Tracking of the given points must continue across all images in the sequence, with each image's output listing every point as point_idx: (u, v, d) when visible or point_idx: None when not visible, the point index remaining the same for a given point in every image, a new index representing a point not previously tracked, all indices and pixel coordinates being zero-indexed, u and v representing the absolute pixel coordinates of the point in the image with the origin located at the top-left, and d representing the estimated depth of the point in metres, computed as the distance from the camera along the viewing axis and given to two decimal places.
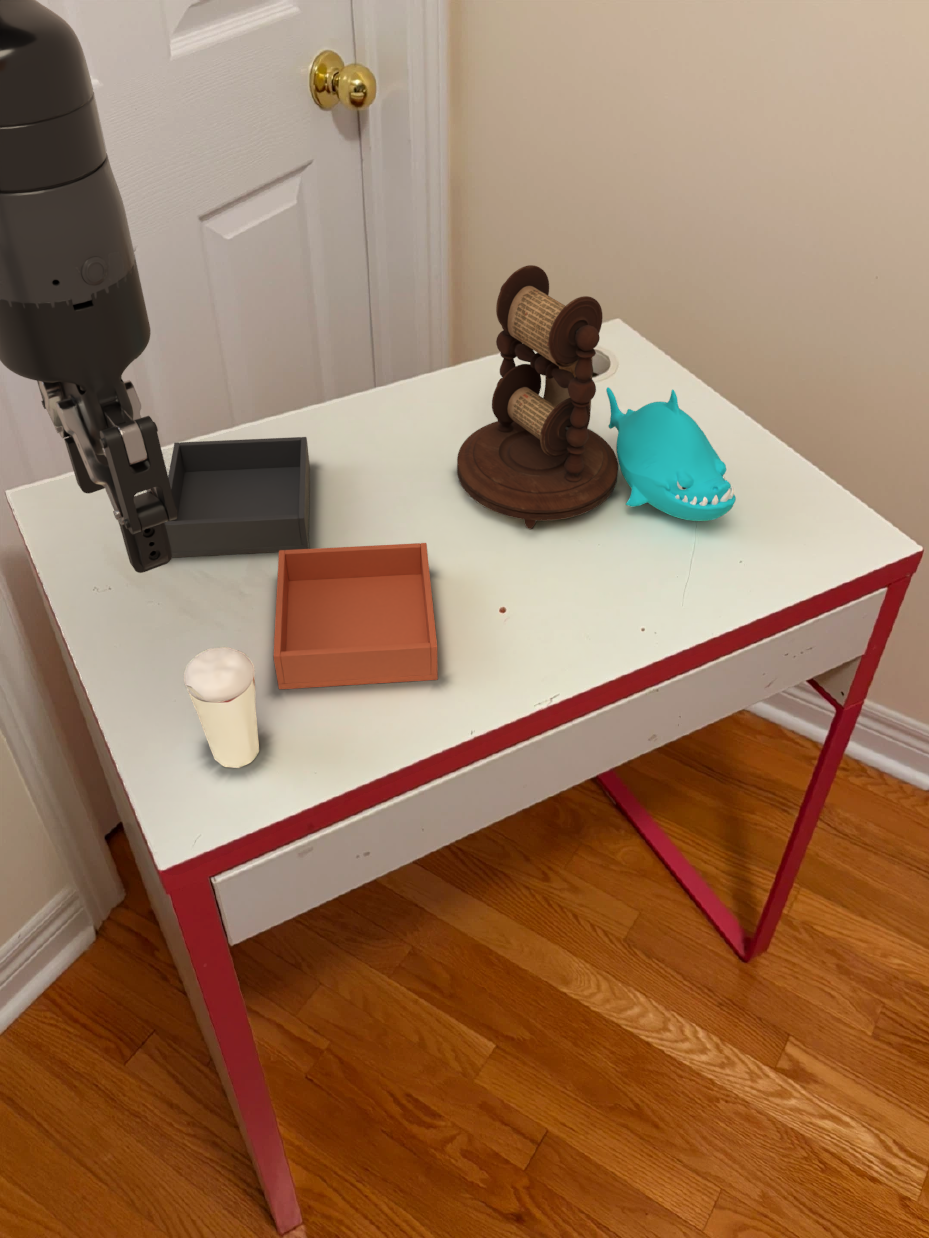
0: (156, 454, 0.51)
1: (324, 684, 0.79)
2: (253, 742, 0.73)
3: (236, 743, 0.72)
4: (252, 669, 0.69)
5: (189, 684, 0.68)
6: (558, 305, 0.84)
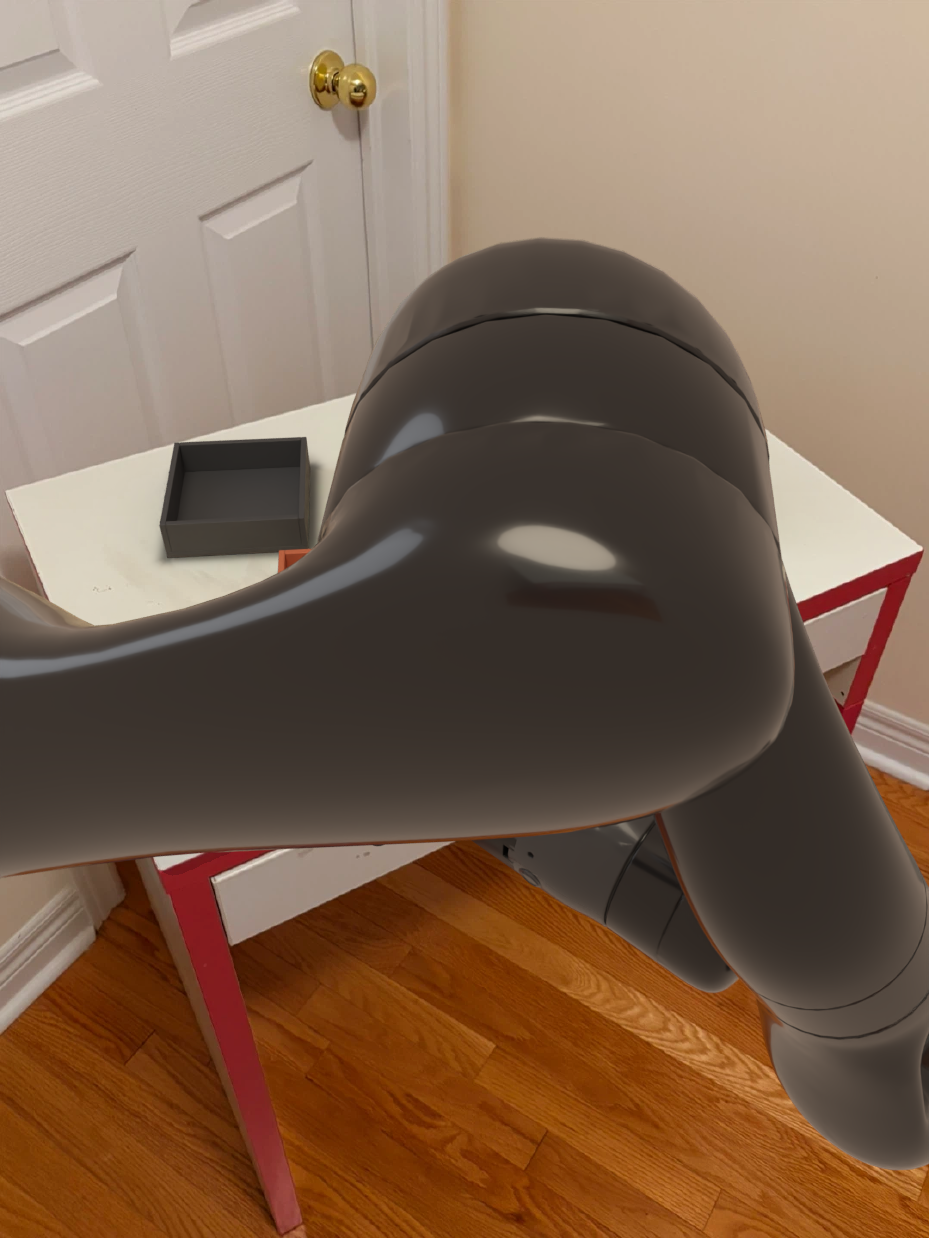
0: None
1: None
2: None
3: None
4: None
5: None
6: None
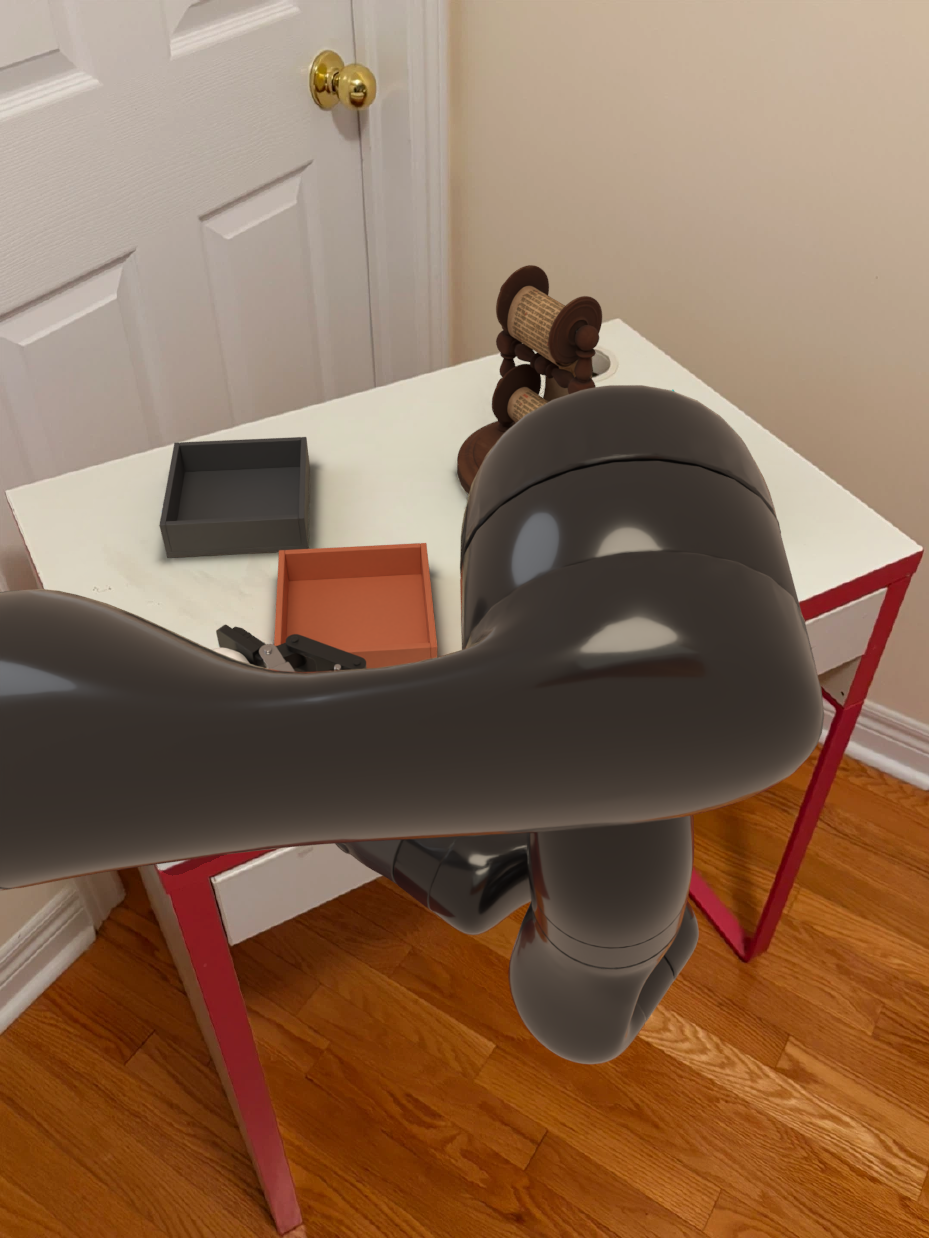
0: None
1: None
2: None
3: None
4: None
5: None
6: (558, 305, 0.84)
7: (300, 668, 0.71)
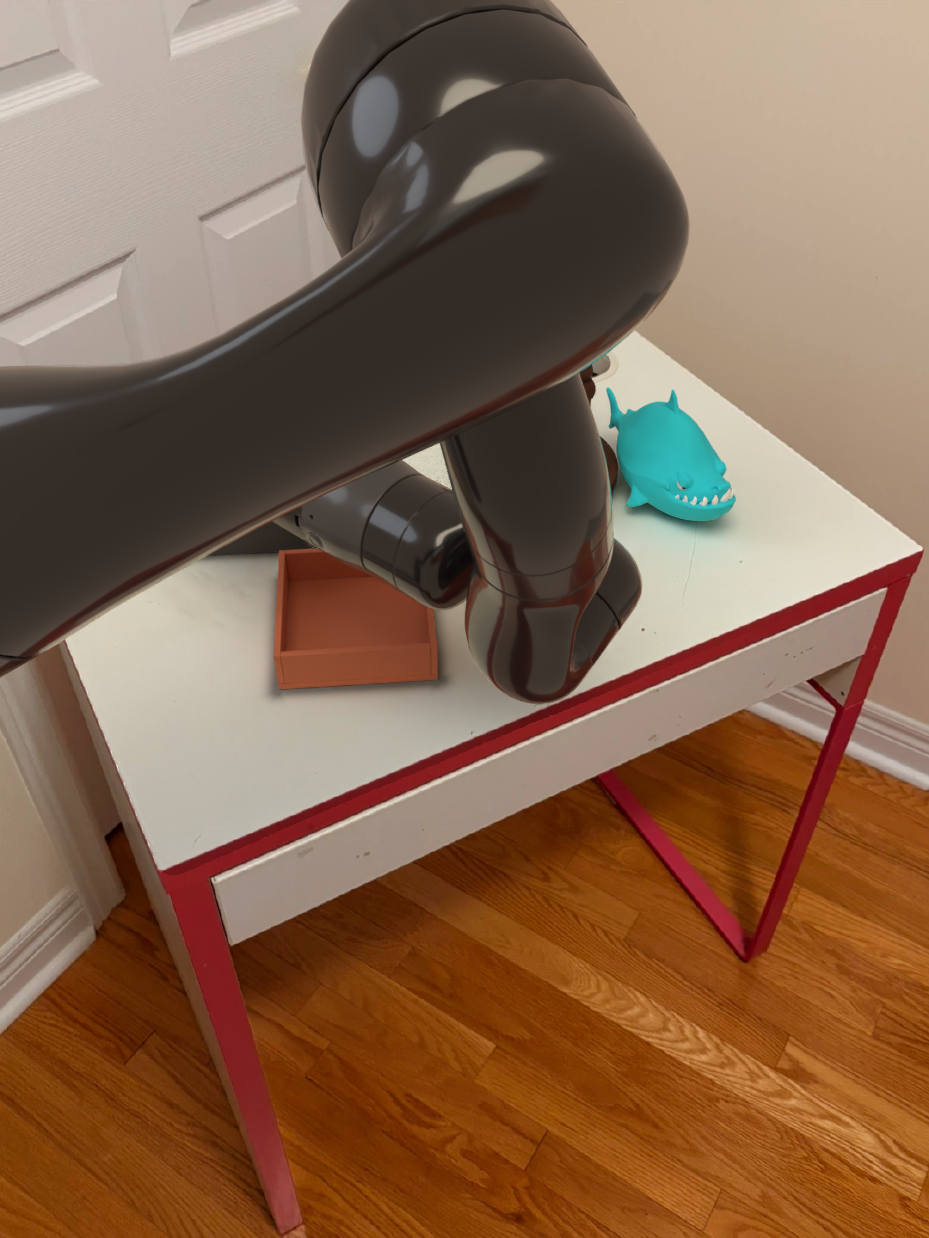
0: None
1: (324, 684, 0.79)
2: None
3: None
4: None
5: None
6: None
7: None
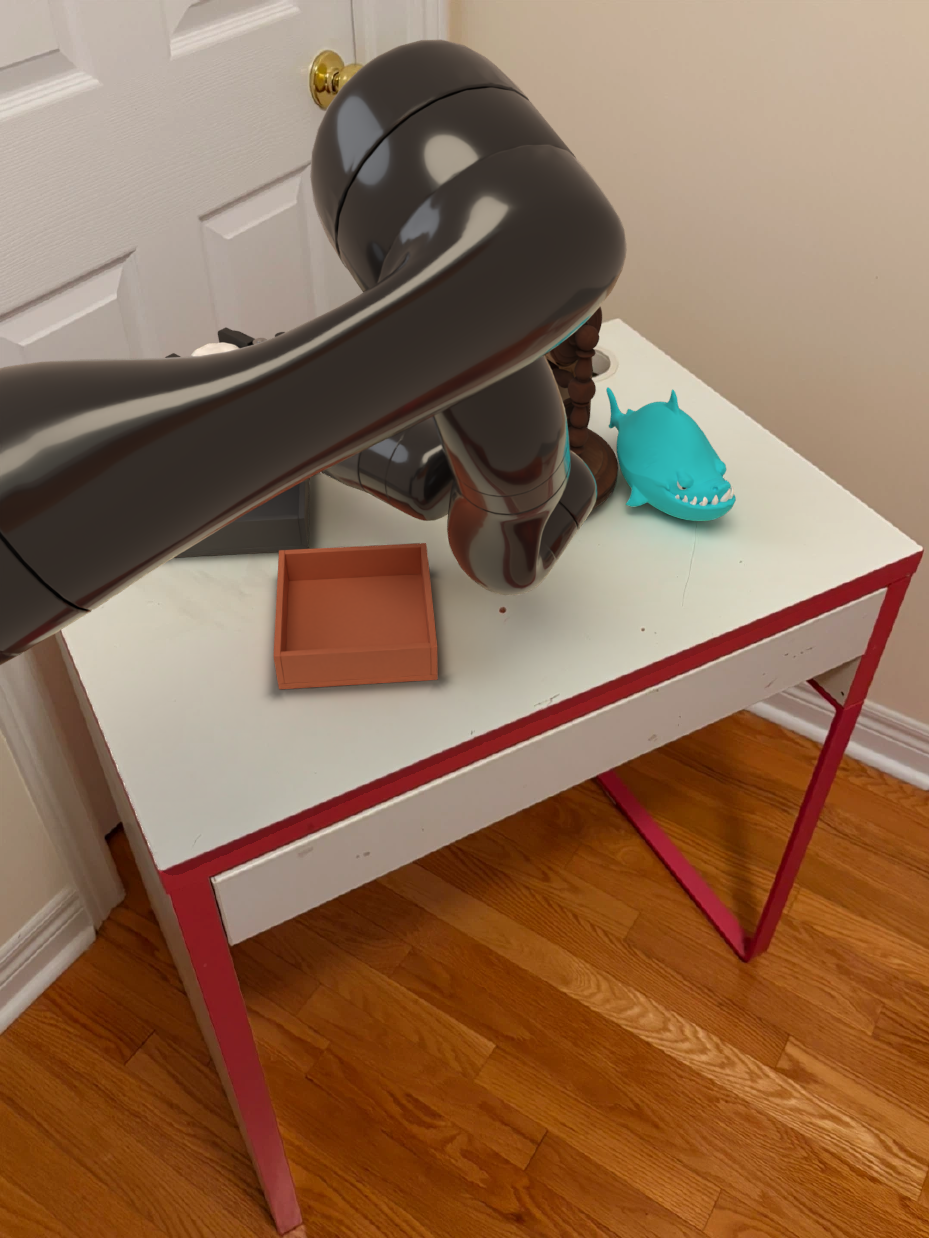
0: None
1: (324, 684, 0.79)
2: None
3: None
4: None
5: None
6: None
7: None
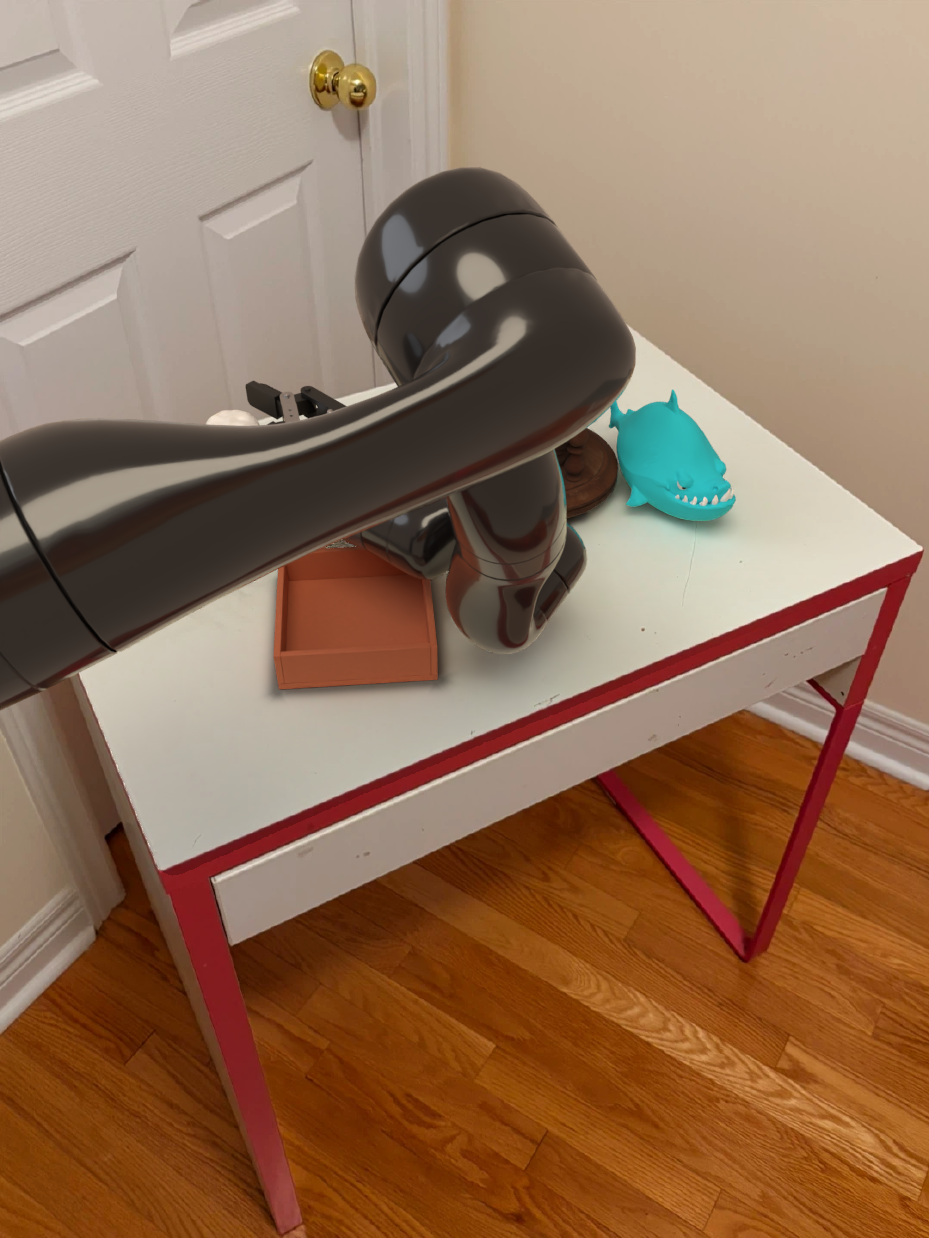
0: None
1: (324, 684, 0.79)
2: None
3: None
4: (258, 424, 0.89)
5: None
6: None
7: (309, 414, 0.90)
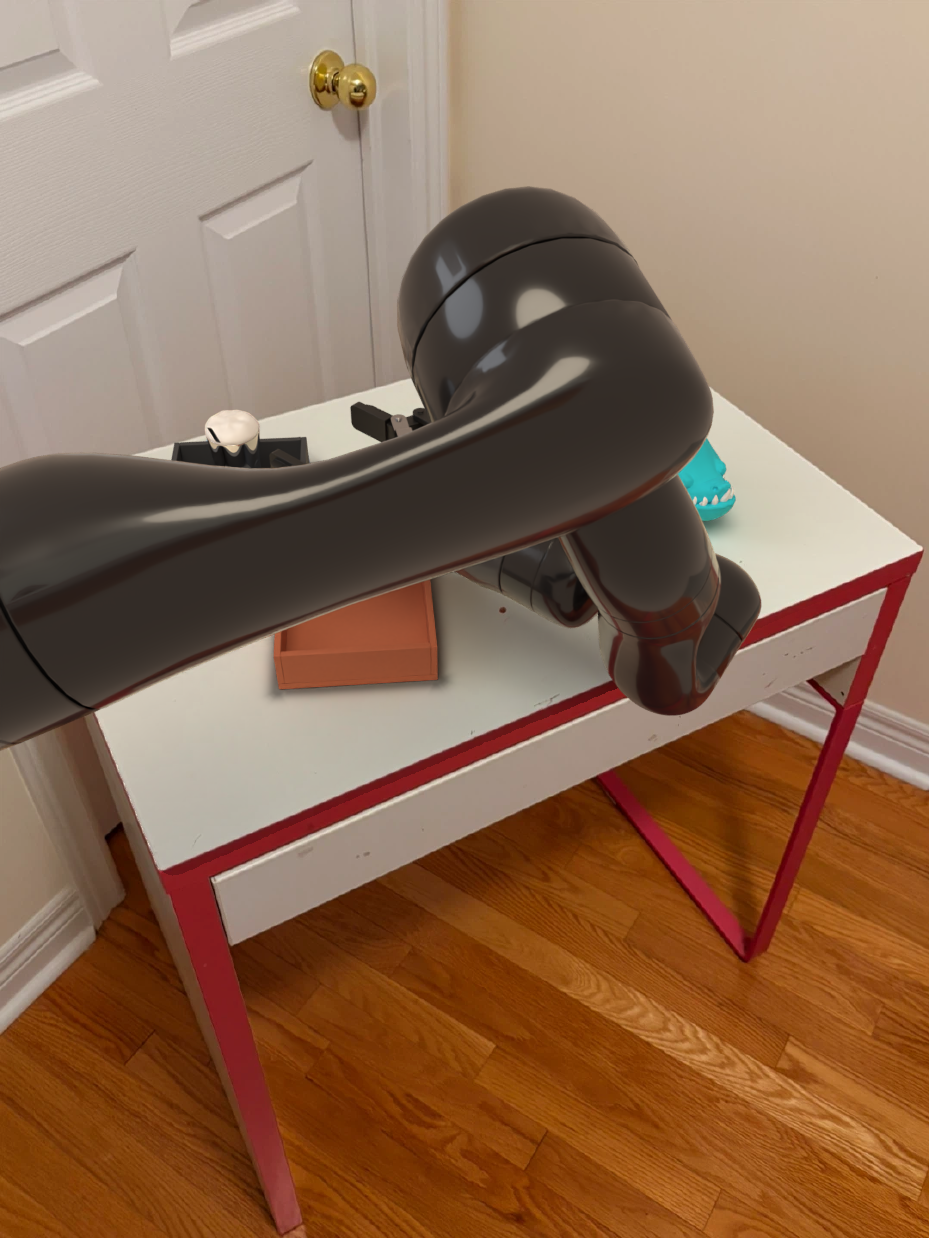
0: None
1: (324, 684, 0.79)
2: None
3: None
4: (258, 424, 0.89)
5: (209, 433, 0.87)
6: None
7: None
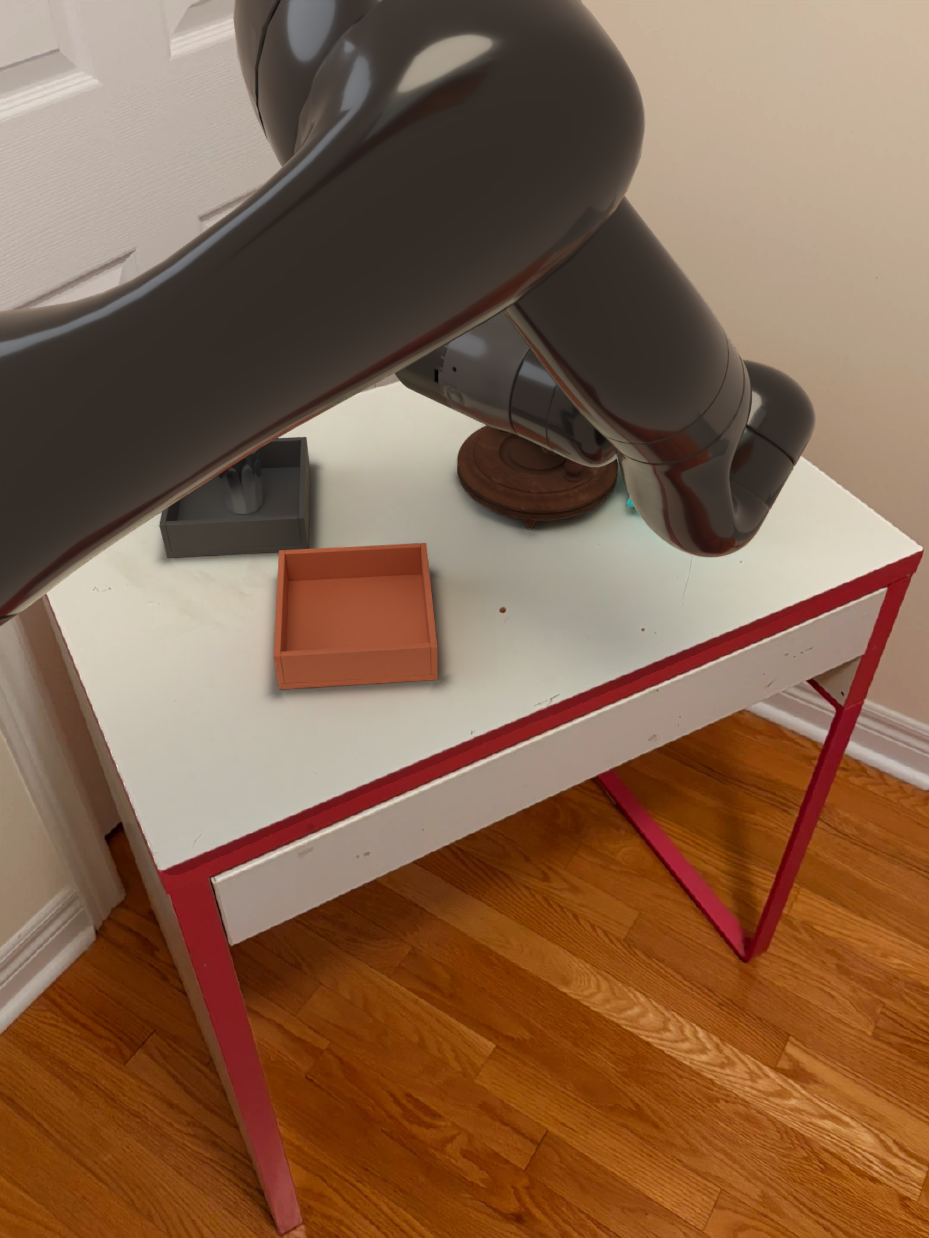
0: None
1: (324, 684, 0.79)
2: (258, 492, 0.92)
3: (245, 490, 0.91)
4: None
5: None
6: None
7: None
